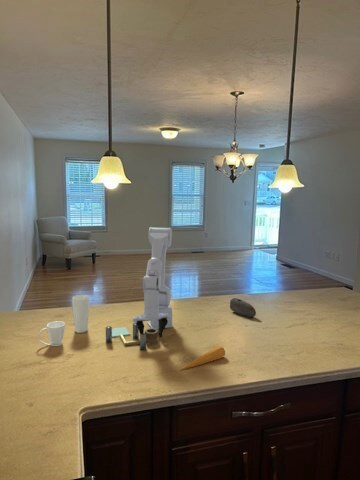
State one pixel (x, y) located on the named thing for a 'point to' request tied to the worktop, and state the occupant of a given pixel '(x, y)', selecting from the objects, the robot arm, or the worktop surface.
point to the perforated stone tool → (242, 307)
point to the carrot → (207, 357)
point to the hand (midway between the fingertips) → (151, 337)
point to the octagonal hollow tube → (151, 336)
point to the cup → (54, 333)
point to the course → (135, 336)
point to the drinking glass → (80, 312)
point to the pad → (120, 332)
